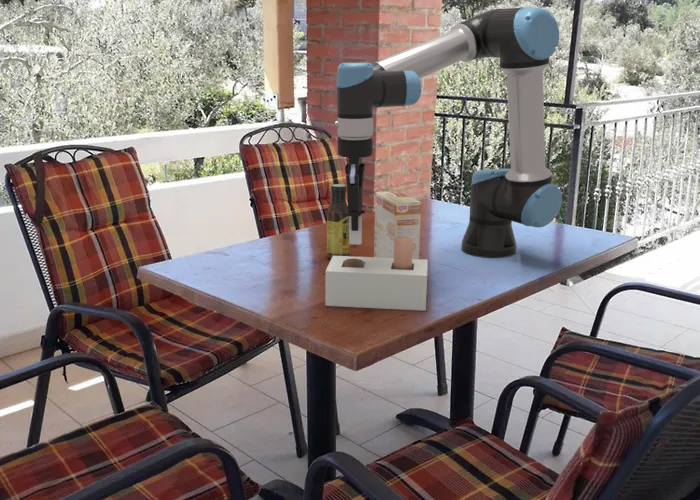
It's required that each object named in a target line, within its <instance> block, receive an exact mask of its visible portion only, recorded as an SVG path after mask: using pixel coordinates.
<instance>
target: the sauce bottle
mask: <svg viewBox="0 0 700 500" xmlns="http://www.w3.org/2000/svg"><path fill="white" fill-rule="evenodd" d="M330 190H331V202H330V204H329V206H328V208H327V211H326V215H327V216H326V218H327V219H326V254H327V255H326V257H327V258H328V259H329V260H331V259H332V257H333V256H350V253H351V249H350V248H351V244H349V216H346V213H348V202H347V195H346V194H347V184H343V183H336V184H335V183H334V184H331V186H330Z"/></svg>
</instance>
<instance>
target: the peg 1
mask: <svg viewBox="0 0 700 500" xmlns="http://www.w3.org/2000/svg"><path fill="white" fill-rule="evenodd" d="M362 266H363V261H362V260H360V259H347V260H345V267H351V268H362Z"/></svg>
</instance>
